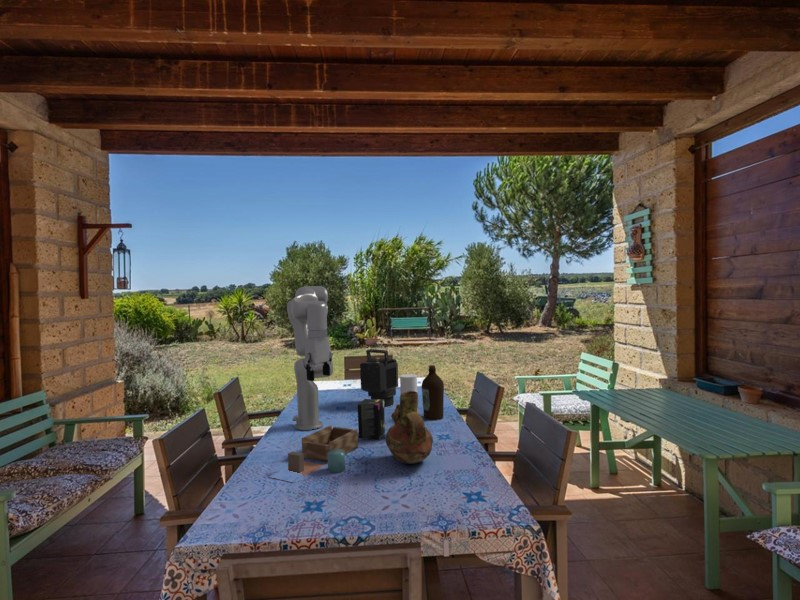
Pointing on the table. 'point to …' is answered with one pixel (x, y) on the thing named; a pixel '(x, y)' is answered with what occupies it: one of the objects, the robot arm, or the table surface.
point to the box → (329, 442)
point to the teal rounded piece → (336, 461)
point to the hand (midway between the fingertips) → (318, 377)
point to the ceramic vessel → (408, 431)
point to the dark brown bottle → (433, 395)
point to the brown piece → (300, 464)
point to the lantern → (379, 377)
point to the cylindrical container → (408, 383)
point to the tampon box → (371, 419)
